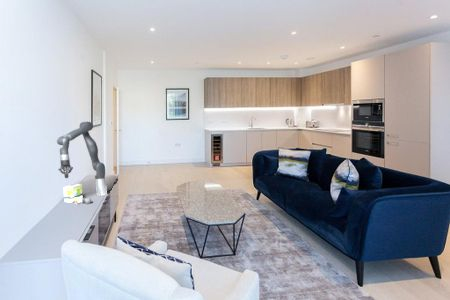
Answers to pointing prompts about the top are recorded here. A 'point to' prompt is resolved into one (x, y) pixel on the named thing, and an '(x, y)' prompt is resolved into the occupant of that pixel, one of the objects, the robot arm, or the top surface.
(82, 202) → the plate
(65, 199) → the tea box
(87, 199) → the grey rounded-end block
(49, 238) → the top surface
